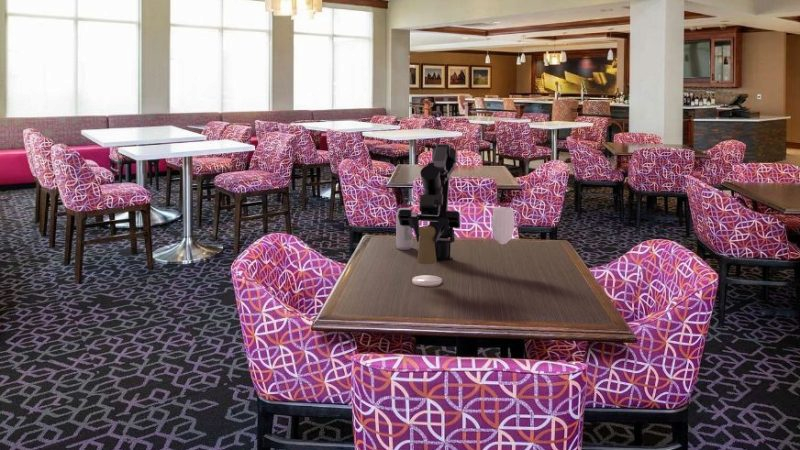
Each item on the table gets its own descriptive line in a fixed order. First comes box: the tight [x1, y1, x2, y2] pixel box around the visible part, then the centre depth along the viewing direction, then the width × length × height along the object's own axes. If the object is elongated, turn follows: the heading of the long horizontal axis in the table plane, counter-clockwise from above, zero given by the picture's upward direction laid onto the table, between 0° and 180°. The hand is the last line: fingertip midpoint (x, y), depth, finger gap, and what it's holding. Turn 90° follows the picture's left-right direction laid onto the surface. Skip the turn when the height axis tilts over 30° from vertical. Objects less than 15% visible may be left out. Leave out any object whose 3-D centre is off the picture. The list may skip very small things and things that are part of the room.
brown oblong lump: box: [416, 225, 438, 265], centre depth 202 cm, size 6×6×11 cm
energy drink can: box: [395, 207, 413, 251], centre depth 250 cm, size 6×6×15 cm
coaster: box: [411, 274, 443, 287], centre depth 205 cm, size 9×9×1 cm
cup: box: [491, 206, 515, 245], centre depth 217 cm, size 7×7×21 cm
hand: (426, 241), depth 201 cm, fingers closed on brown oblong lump, 5 cm apart
